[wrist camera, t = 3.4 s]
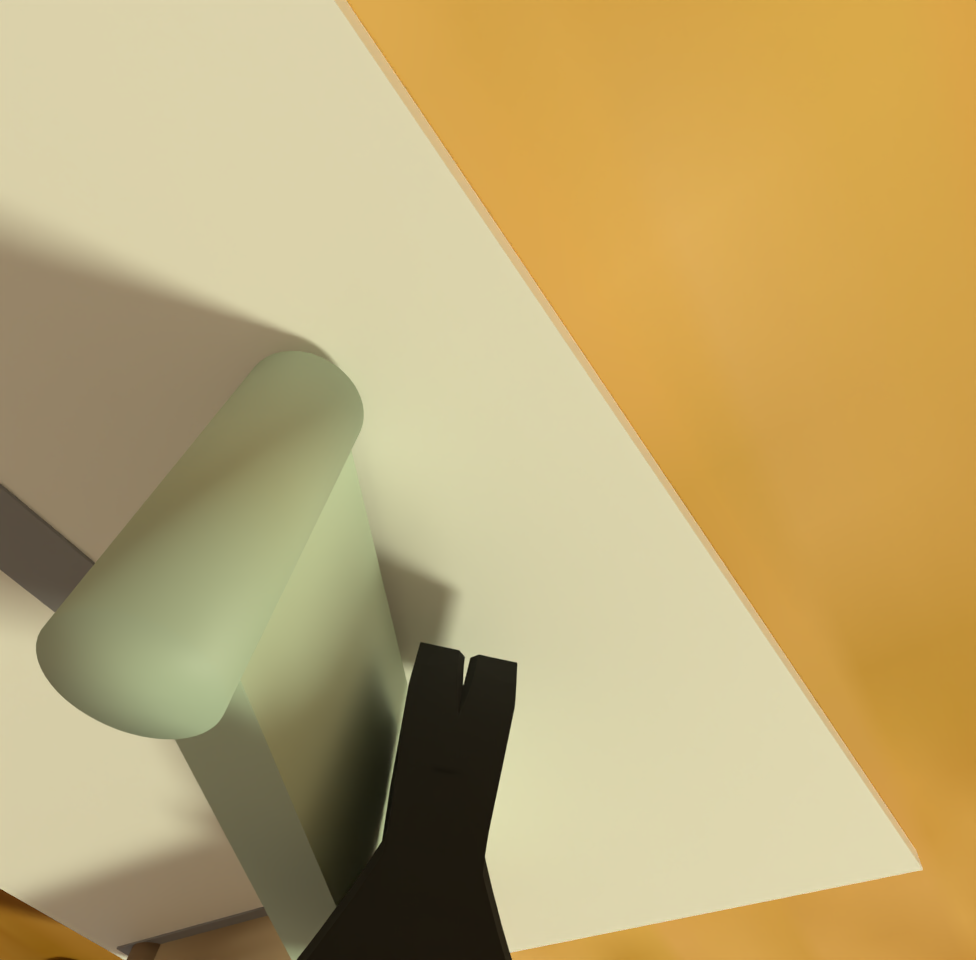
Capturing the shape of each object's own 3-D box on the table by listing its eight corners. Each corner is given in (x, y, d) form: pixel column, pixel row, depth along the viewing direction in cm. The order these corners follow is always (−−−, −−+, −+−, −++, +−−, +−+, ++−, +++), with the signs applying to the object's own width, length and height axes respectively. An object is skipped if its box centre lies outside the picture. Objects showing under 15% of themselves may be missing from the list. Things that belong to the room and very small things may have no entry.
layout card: (220, 997, 24) (214, 1013, 23) (-484, 584, 15) (-511, 599, 15) (915, 849, 15) (923, 872, 15) (180, -246, 7) (157, -259, 7)
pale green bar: (465, 868, 16) (427, 1142, 13) (393, 864, 17) (334, 1131, 13) (350, 347, 9) (190, 608, 6) (230, 354, 10) (1, 608, 6)
